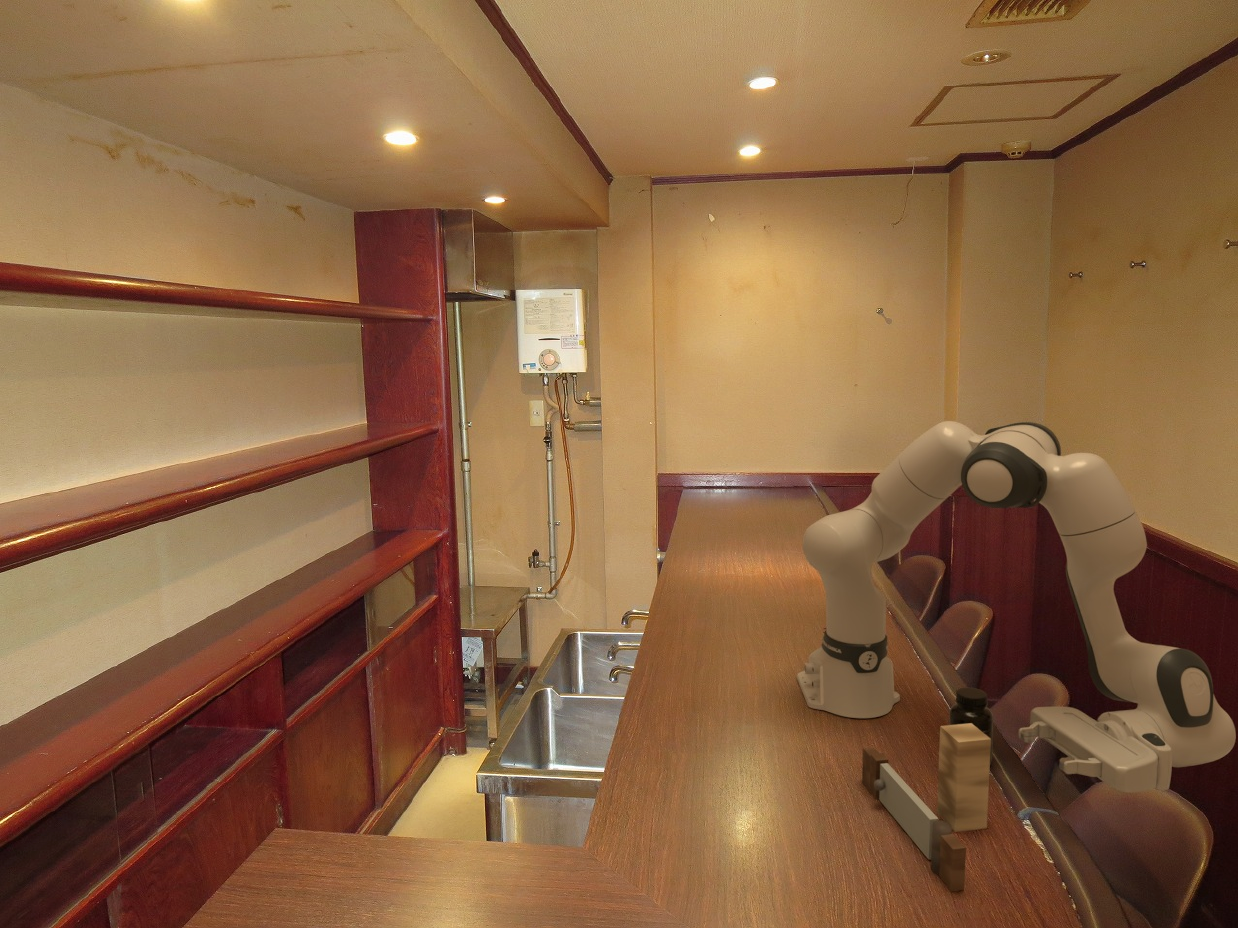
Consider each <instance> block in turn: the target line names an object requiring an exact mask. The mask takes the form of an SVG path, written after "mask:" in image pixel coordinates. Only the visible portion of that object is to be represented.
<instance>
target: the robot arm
mask: <svg viewBox="0 0 1238 928" xmlns="http://www.w3.org/2000/svg"><path fill="white" fill-rule="evenodd" d="M1061 449H1062V448H1061V443H1060V441H1059V439H1058V437H1057V436H1056V434H1055V433H1054V432H1053V431H1052V430H1051V429H1049V427H1047V426H1045V425H1043V424H1040V423H1036V422H1031V421H1026V422H1024V421H1022V422H1015V423H1010V424H1006V425H1003V426H997V427H991V428H990V429H988V430H987V431H986V432H985V433H984V434H977V433H976V432H975V431H973V430H972V429H971V428H970V427H968V426H967V425H965V424H963V423H961V422H958V421H954V420H944V421H941V422H939V423H937V424H935V425H933V426H932V427H931V428H929V429H927V431H925V432H923V433H922V434H921V435H919V436H918V437H917V438H915V439H914V440H913V441H912V442H911V443H909V444H908V445H907V446H906V447H905V448H904V449H903V450H902V451H901V452H900V453H898V455H897V456H896V457H895V458H894V459H893V460H892V461H891V462H890V463H889V464H888V465H887V466H886V467H884V469H882V471H881V472H880V473H879V474H878V475H877V476H876V477H875V478H874V479H873V480H872V483H871V492H870V494H869V495H868V497H867V498H866V499H865V500H864V501H863V502H862V503H860V504H858V505H857V506H855V507H853V508H851V509H848V510H844V511H840V512H836V513H831V514H829V515H828V514H827V515H825V516H823V517H822V518H820V519H818V520H817V521H815V522H814V523H812V524H811V525H809V526H808V527H807V528H806V530H805V531H804V533H803V536H802V541H801V545H802V553H803V555H804V557H805V560H806V561H807V562H808V564H809V565H810V566H811V567H812V568H813V569H814V570H816V572H818V574H819V576H820V578H821V580H822V585H823V587H824V591H825V603H826V604H825V605H826V606H825V609H826V610H825V611H826V613H825V615H826V617H825V618H826V627H824V628H823V630H825V631H823V632H822V633H823V636H822V639H821V640H822V641H821V646H820V647H818V648H817V649H815V650H814V651H812V652H811V653H810V654H809V656H808V662H805V663H804V667H803V669H804V670H802V671H799V672H797V676H796V680H797V682H798V684H799V687H800V690H801V693H802V695H803V697H804V699H805V702H806V704H807V707H809V708H810V709H815V710H819V711H820V710H821V711H826V712H829V713H831V714H834V715H836V716H841V717H845V718H853V719H873V718H877V717H881V716H885V715H886V714H889V712H891V711H892V709H893V706H894V705H895V704H896V703H898V702H900V700H901V695H900V694H899V692H897V691H895V681H894V664H893V661H892V659H890V658H889V657H888V649H889V642H888V636H887V634H886V624H887V623H886V618H887V599H886V596H885V595H884V593H883V592H882V591H881V589H879V588H878V587H876V585H875V581H874V578H873V573H872V572H873V571H872V568H873V564H875V563H878V562H881V561H885V560H887V559H890V558H892V557H893V556H895V555H896V554H898V553H899V552H900V551H901V550H903V549H904V548H905V547H906V546H907V545H908V544H909V542H910V539H911V535H912V534H913V532H914V531H915V529H917V527H918V526H919V524H920V523H921V522H922V521H923V520H924V519H926V517H927V516H929V515H930V514H931V513H932V512H933V511H934V510H935V509H937V508H938V507H939V506H940V505H942V503H943V502H945V501H946V500H947V499H948V498H949V497H950V496H951V495H952V494H953V493H954V492H956V491H957V490H958V489H959V488H960V487H962V488H963V491H964V492H965V493H966V495H967V496H968V497H969V499H970V500H972V501H973V502H974V503H977V504H978V505H980V506H983V507H986V508H991V509H1007V508H1022V509H1023V508H1025V509H1027V508H1028V509H1031V508H1035V507H1036V506H1037V505H1038V504H1040V505H1041V506H1043V507H1044V508H1045V510H1047V512H1048V513H1049V515H1050V517H1051V519H1052V521H1053V523H1054V526H1055V528H1056V530H1057V533H1058V535H1059V537H1060V540H1061V543H1062V545H1063V547H1064V552H1065V555H1066V564H1065V576H1066V581H1067V585H1068V589H1069V592H1070V595H1071V599H1072V602H1073V606H1074V608H1075V612H1076V614H1077V617H1078V620H1079V621H1078V622H1079V624H1080V627H1081V630H1082V634H1083V637H1084V640H1085V643H1086V652H1087V663H1088V664H1087V665H1088V671H1089V676H1090V678H1091V681H1092V682H1093V685H1094V686H1095V688H1096V689H1097V690H1098V692H1100V693H1101V694H1102V695H1104V696H1105V697H1107V698H1109V699H1111V700H1114V701H1119V702H1126V703H1136V704H1137V707H1136V708H1135V709H1126V710H1115V711H1106V712H1103V713H1101V714H1100V715H1099V716H1098V717H1097V720H1095V719H1093V718H1092V717H1091V716H1089V715H1087V714H1086V713H1084V712H1083V711H1081V710H1080V709H1077V708H1075V707H1072V706H1071V707H1070V706H1037V707H1034V708H1033V709H1031V711H1030V719H1029V720H1030V721H1029V726H1027V727H1025V726H1024V727H1020V728H1019V729H1018V739H1020V740H1022V741H1023V742H1024V743H1027V744H1029V743H1035V742H1036V738H1039V739H1044V740H1045V741H1046V742H1048V743H1049V744H1051V745H1052V746H1054V747H1055V748H1056V749H1058V750H1059V751H1060V752H1061V753H1063V754H1064V755H1066V756H1067V757H1061V758H1060V759H1059V765H1058V768H1059V769H1060V770H1062V771H1063V772H1064V774H1066V775H1072V774H1073V775H1075V774H1077V775H1082V776H1087V777H1091V778H1098V779H1099V780H1100V781H1102V782H1103V783H1105V784H1106V785H1108V786H1109V787H1110V788H1111V789H1113V790H1115V791H1117V792H1122V793H1127V794H1130V793H1131V794H1133V793H1145V792H1150V791H1154V790H1155V791H1167V790H1169V789H1170V784H1171V777H1172V767H1173V768H1183V767H1184V768H1185V767H1191V766H1198V765H1203V764H1207V763H1211V762H1215V761H1217V760H1220V759H1221V758H1222V759H1223V757H1225V756H1226V755H1228V754H1229V753H1230V752H1231V750H1233V748H1234V746H1235V743H1236V738H1237V737H1236V736H1237V735H1236V734H1237V733H1236V727H1235V724H1234V722H1233V719H1232V718H1231V717H1230V715H1229V714H1228V712H1226V710H1224V708H1222V707H1221V706H1220V704H1219V703H1218V700H1217V699H1216V696H1215V694H1214V684H1213V678H1212V674H1211V672H1210V669H1209V667H1208V665H1207V664H1206V662H1205V661H1204V660H1203V659H1202V657H1200V656H1199V655H1198V654H1197V653H1195V652H1194V651H1192V650H1190V649H1186V648H1179V647H1175V646H1168V645H1163V644H1152V643H1147V642H1141V641H1139V640H1137V639H1135V638H1134V637H1133V636H1131V634H1129V633H1128V631H1127V630H1126V628H1125V627H1126V626H1125V623H1124V621H1123V618H1122V615H1121V612H1120V611H1121V610H1120V608H1119V605H1118V602H1117V598H1116V595H1115V590H1114V586H1115V582H1116V580H1117V579H1119V578H1120V577H1123V576H1124V575H1126V574H1128V573H1129V572H1131V571H1132V570H1133V569H1135V568H1136V567H1138V565H1139V563H1140V562H1141V561H1142V560H1143V558H1144V556H1145V553H1146V551H1147V548H1148V542H1147V537H1146V531H1145V528H1144V526H1143V523H1142V521H1141V519H1140V517H1139V515H1138V512H1137V510H1136V508H1135V506H1134V505H1133V503H1132V500H1131V498H1130V497H1129V495H1128V493H1127V491H1126V489H1125V488H1124V486H1123V484H1122V483H1121V481H1120V479H1119V477H1118V476H1117V475H1116V474H1115V471H1114V470H1113V469H1112V467H1110V465H1109V463H1107V461H1106V460H1105V459H1104V458H1102V457H1101V456H1100V455H1098V454H1095V453H1091V452H1074V453H1070V454H1066V455H1062V450H1061Z"/></svg>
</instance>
